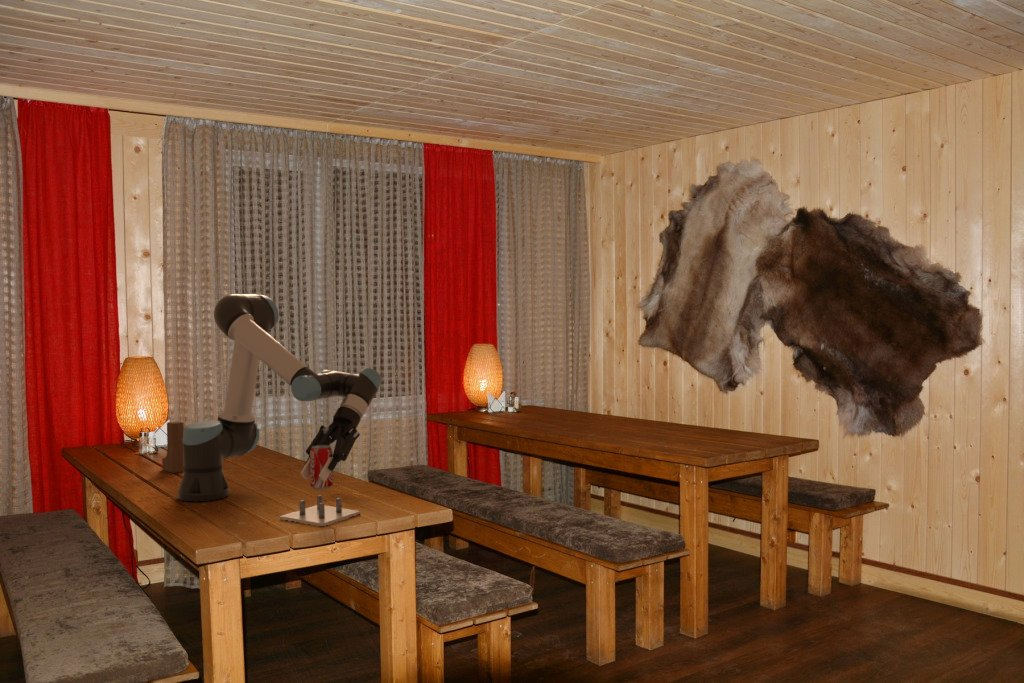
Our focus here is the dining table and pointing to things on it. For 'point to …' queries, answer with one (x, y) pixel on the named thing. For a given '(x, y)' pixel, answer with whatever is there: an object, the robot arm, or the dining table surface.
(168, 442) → the wooden block
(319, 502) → the standoff pins
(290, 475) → the dining table surface
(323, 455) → the soda can
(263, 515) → the dining table surface
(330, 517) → the base plate
